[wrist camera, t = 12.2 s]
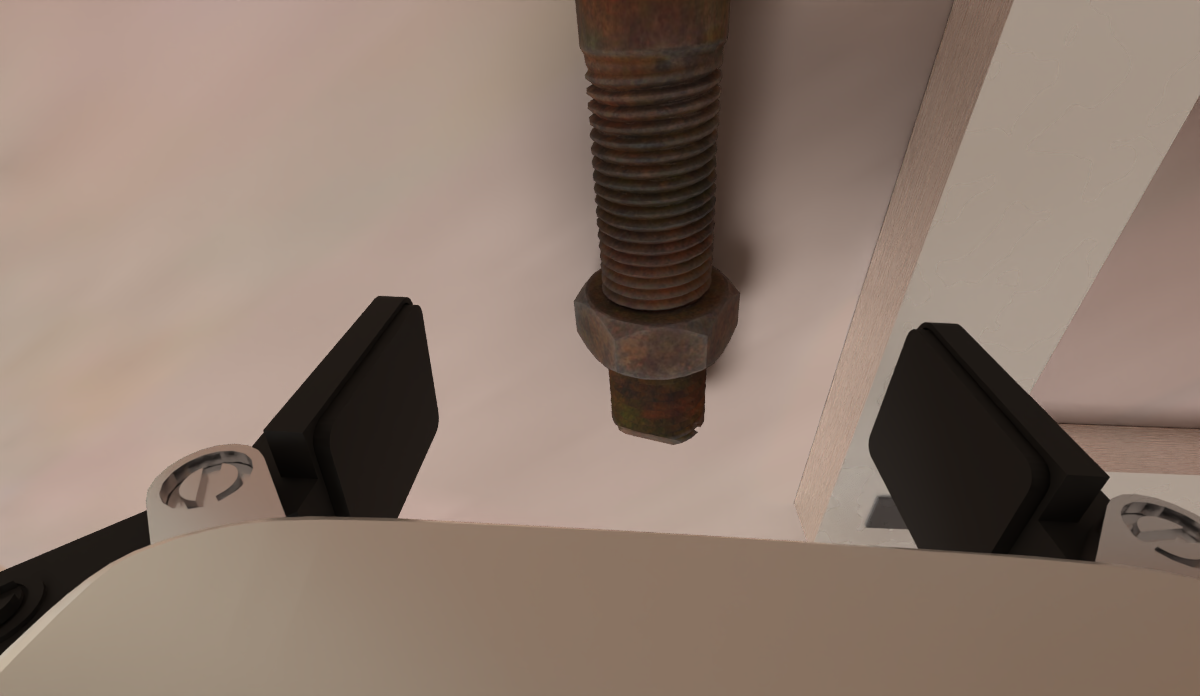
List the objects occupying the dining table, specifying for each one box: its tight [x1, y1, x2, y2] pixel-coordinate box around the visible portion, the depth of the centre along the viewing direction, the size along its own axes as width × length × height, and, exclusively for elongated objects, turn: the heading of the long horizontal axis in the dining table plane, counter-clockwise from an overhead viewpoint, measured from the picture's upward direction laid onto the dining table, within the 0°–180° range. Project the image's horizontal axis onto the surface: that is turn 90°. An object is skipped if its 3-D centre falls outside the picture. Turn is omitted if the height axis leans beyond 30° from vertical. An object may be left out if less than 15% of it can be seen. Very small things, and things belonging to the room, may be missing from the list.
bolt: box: [574, 0, 740, 445], centre depth 15 cm, size 6×5×15 cm
